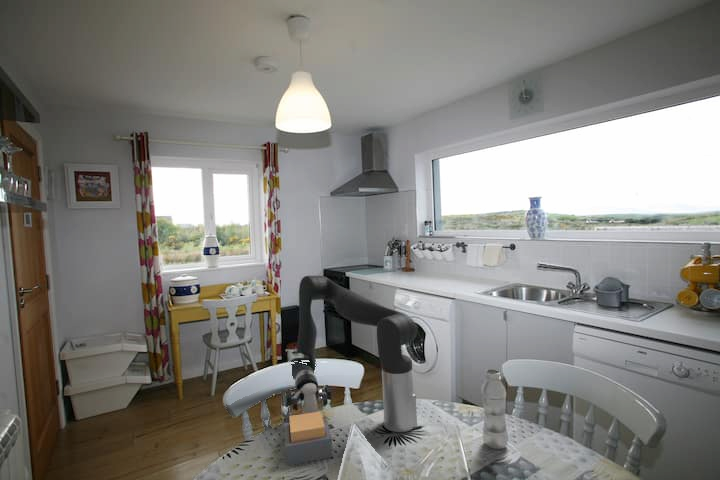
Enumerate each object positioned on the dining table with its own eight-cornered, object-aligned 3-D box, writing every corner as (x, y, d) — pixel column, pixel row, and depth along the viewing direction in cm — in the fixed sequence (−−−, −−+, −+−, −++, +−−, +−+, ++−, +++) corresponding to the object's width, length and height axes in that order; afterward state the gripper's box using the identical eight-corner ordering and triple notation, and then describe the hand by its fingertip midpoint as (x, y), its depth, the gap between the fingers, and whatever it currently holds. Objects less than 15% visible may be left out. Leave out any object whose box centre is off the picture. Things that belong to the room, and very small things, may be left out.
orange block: (321, 423, 107) (320, 411, 107) (325, 439, 99) (324, 426, 99) (289, 428, 105) (289, 416, 105) (291, 445, 97) (290, 432, 97)
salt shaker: (317, 432, 110) (315, 389, 110) (299, 431, 111) (296, 388, 111) (323, 422, 116) (321, 381, 115) (305, 421, 117) (303, 380, 116)
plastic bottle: (482, 450, 97) (479, 375, 97) (483, 436, 104) (480, 366, 103) (509, 454, 95) (506, 377, 95) (508, 440, 101) (505, 368, 101)
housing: (326, 433, 109) (325, 416, 109) (332, 456, 98) (331, 438, 98) (285, 440, 107) (284, 423, 107) (286, 465, 95) (285, 446, 95)
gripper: (284, 376, 125) (285, 396, 110) (326, 370, 129) (333, 389, 113) (285, 398, 126) (287, 421, 110) (327, 392, 129) (334, 414, 113)
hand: (310, 405), depth 111 cm, fingers open, 8 cm apart
